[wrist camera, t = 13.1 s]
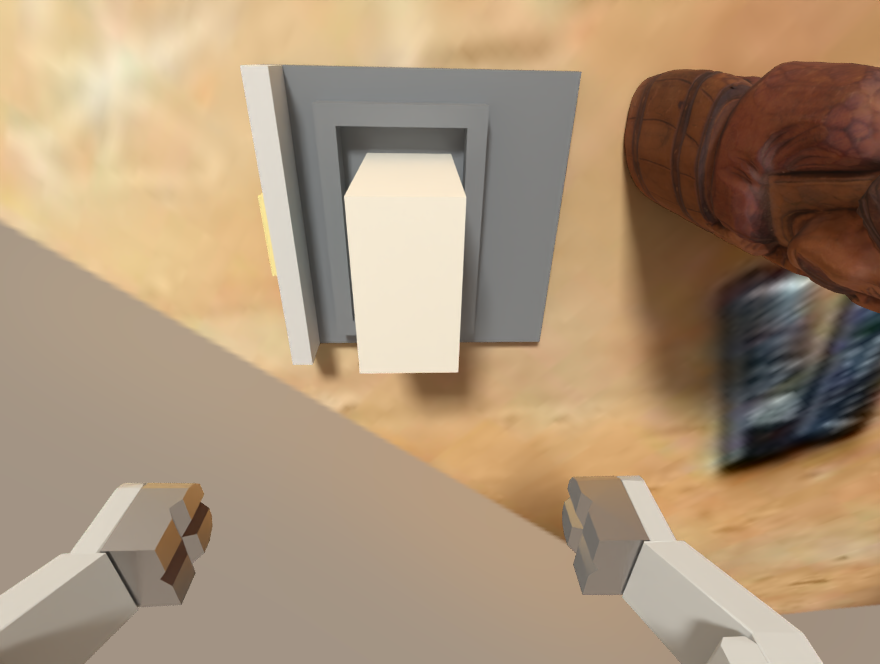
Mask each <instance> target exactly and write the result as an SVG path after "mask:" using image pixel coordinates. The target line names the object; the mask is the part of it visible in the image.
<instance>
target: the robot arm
mask: <svg viewBox="0 0 880 664" xmlns="http://www.w3.org/2000/svg"><path fill="white" fill-rule="evenodd" d="M567 489H568V492H569V495H570V498H569V499H567V500H566V501H565V502H564V506H563V511H562V522H563V530H564V535H565V538H566V542H567V545H568V546H569V547H570V548H571V549H572V550H573V551H574V552H575V553H576V556H575V560H574V564H573V565H574V568H575V572H576V575H577V578H578V581H579V585H580V587H581V591H582V594H583V595H623V596H622V597H623V599H624V600H625V601H626V602H627V603H628V604H629V605H630V606H631V607H632V609H633V610H634V611H635V612H636V613H637V614H638V615H639V617H640V618H641V619H642V620H643V621H644V622H645V623H646V624H647V626H648V627H649V628H650V629H651V630H652V631H653V632H654V633H655V634H656V636H657V637H658V638H659V639H660V640H661V641H662V642H663V644H664V645H665V646H666V647H667V648H668V649H669V650H670V651H671V652H672V654H673V655H674V656H675V657H676V658H677V659H678V660H679V662H680V663H681V664H823V662H822V661H821V659H820V658H819V656H818V655H817V653H816V652H815V650H814V649H813V647H812V646H811V644H810V643H809V641H808V640H807V638H806V637H805V635H804V634H803V633H802V632H801V631H800V630H799V629H797V628H796V627H795V626H793V625H792V624H791V623H789V622H788V621H787V620H785V619H784V618H782V616H780V615H779V614H778V613H777V612H775V611H774V610H773V609H771V608H770V607H769V606H767V605H766V604H765V603H764V602H762V601H761V600H760V599H758V598H757V597H756V596H755V595H753V594H752V593H751V592H749V591H748V590H747V589H745V588H744V587H743V586H742V585H740V584H739V583H738V582H736V581H735V580H734V579H733V578H731V577H730V576H729V575H727V574H726V573H725V572H723V571H722V570H721V569H720V568H718V567H717V566H716V565H714V564H713V563H712V562H711V561H709V560H708V559H707V558H705V557H704V556H703V555H701V554H700V553H699V552H698V551H696V550H695V549H694V548H692V547H691V546H690V545H689V544H687V543H686V542H685V541H677V540H676V538H675V537H674V535H673V533H672V531H671V529H670V527H669V526H668V524H667V522H666V520H665V518H664V516H663V514H662V513H661V511H660V509H659V507H658V505H657V503H656V502H655V500H654V498H653V496H652V494H651V492H650V491H649V489H648V487H647V485H646V483H645V481H644V479H642V478H641V477H640V476H616V477H615V476H591V477H572V478H571V479H570V481H569V484H568V488H567ZM203 496H204V493H203V490H202V488H201V486H200V484H196V483H124V484H122V485H121V486H119V487H118V488H117V489H116V490H115V491H114V492H113V494H112V495H111V497H110V498H109V499H108V501H107V502H106V503H105V505H104V506H103V508H102V509H101V511H100V512H99V513H98V515H97V516H96V517H95V519H94V520H93V522H92V523H91V524H90V526H89V527H88V529H87V530H86V531H85V533H84V534H83V536H82V537H81V538H80V540H79V541H78V542H77V544H76V545H75V547H74V548H73V549H72V551H71V552H70V553H63V554H61V555H59V556H58V557H56V558H55V559H53V560H52V561H50V562H49V563H47V564H46V565H44V566H43V567H41V568H40V569H39V570H37V571H36V572H34V573H33V574H31V575H30V576H28V577H27V578H25V579H24V580H22V581H21V582H19V583H18V584H16V585H15V586H14V587H12V588H11V589H9V590H8V591H6V592H5V593H3V594H2V595H0V664H84V663H85V662H86V661H87V660H88V659H89V658H90V657H91V656H92V655H93V654H94V653H95V652H96V651H97V650H98V649H99V648H100V647H101V646H102V645H103V644H104V643H105V642H106V641H107V640H108V639H109V638H110V637H111V636H112V635H113V634H115V633H116V632H117V630H119V628H121V626H123V625H124V624H125V623H126V622H127V620H129V619H130V618H131V617H132V615H134V614H135V613H136V612H137V611H138V607H150V606H167V605H168V606H169V605H182V602H183V600H184V598H185V595H186V593H187V591H188V589H189V586H190V584H191V582H192V580H193V578H194V575H195V570H194V567H193V562H194V561H196V560H197V559H198V558H199V557H200V556H201V555H203V554H204V553H205V550H206V548H207V545H208V543H209V541H210V536H211V531H212V515H211V512H210V509H209V508H208V507H207V506H205V505H204V504H203V503H201V500H202V498H203Z"/></svg>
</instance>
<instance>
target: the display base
mask: <svg viewBox="0 0 880 664" xmlns="http://www.w3.org/2000/svg"><path fill="white" fill-rule="evenodd" d="M240 69H241V74H242V80H243V85H244V91H245V97H246V102H247V108H248V114H249V119H250V125H251V131H252V136H253V142H254V147H255V153H256V159H257V164H258V170H259V176H260V181H261V187H262V193H261V194H260V195H259V196H258V200H259V205H260V211H261V216H262V222H263V227H264V233H265V238H266V244H267V249H268V255H269V260H270V265H271V271H272V276H277V277H278V283H279V288H280V294H281V300H282V305H283V311H284V317H285V322H286V328H287V334H288V339H289V345H290V351H291V356H292V362H293V365H313V362H314V359H315V356H316V353H317V350H318V347H319V345H320V343H357V335H356V324H355V313H354V302H353V291H352V279H351V268H350V257H349V246H348V235H347V224H346V212H345V201H344V196H345V194H346V192H347V190H348V188H349V186H350V184H351V182H352V181H353V179H354V177H355V175H356V173H357V171H358V169H359V167H360V165H361V163H362V162H363V160H364V158H365V156H366V154H367V153H427V154H451V155H452V158H453V161H454V164H455V167H456V169H457V172H458V175H459V178H460V181H461V184H462V186H463V189H464V192H465V195H466V216H465V238H464V259H463V280H462V302H461V323H460V342H539V341H540V334H541V328H542V322H543V315H544V309H545V302H546V296H547V290H548V283H549V277H550V270H551V264H552V257H553V251H554V245H555V238H556V232H557V225H558V219H559V213H560V206H561V200H562V193H563V187H564V180H565V174H566V168H567V161H568V155H569V148H570V142H571V136H572V129H573V123H574V116H575V110H576V103H577V97H578V91H579V84H580V78H581V72H577V71H536V70H491V69H447V68H402V67H357V66H312V65H268V64H260V65H240Z"/></svg>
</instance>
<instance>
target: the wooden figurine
mask: <svg viewBox="0 0 880 664" xmlns="http://www.w3.org/2000/svg"><path fill="white" fill-rule="evenodd" d="M624 141H625V149H626V158H627V165H628V168H629V171H630V174H631V177H632V179H633V181H634V183H635V184H636V186H637V187H638V188H639V189H640V190H641V191H642V193H643V194H644V195H645V196H647V197H648V198H649V199H651V200H652V201H654V202H655V203H657V204H659V205H661V206H662V207H664V208H666V209H668V210H670V211H672V212H674V213H676V214H678V215H679V216H681V217H683V218H684V219H686V220H688V221H690V222H692V223H694V224H695V225H697V226H699V227H701V228H703V229H705V230H707V231H709V232H711V233H714V234H715V235H716V236H717V237H719V238H722V239H723V240H724V241H726V242H728V243H730V244H733V245H735V246H737V247H738V248H740V249H742V250H743V251H746V252H748V253H749V254H752V255H756V256H758V255H762V256H763V257H765V258H766V259H768V260H770V261H771V262H773V263H775V264H777V265H778V266H780V267H783V268H785V269H787V270H789V271H791V272H794V273H796V274H799V275H803V276H806V277H809V278H810V280H811V281H813V282H815V283H816V284H818V285H820V286H822V287H824V288H826V289H828V290H831V291H833V292H836V293H840V294H845V295H846V296H847V297H848V298H849V299H850V300H851V301H852V302H854V303H855V304H857V305H859V306H861V307H864V308H867V309H869V310H872V311H875V312H878V313H880V68H879V67H873V66H868V65H861V64H854V63H825V62H799V61H792V62H787V63H782V64H780V65H778V66H776V67H774V68H773V69H772V70H771V71H769V72H768V73H767V74H765V75H764V76H763V77H762V78H760V77H755V76H751V77H741V76H734V75H732V74H727V73H723V72H719V71H715V72H714V71H712V70H690V69H683V70H672V71H668V72H665V73H662V74H659V75H656V76H652V77H649V78H647V79H646V80H645V81H643V82H642V83H641V84H640V86H639V87H638V88H637V90H636V92H635V93H634V95H633V97H632V101H631V104H630V108H629V114H628V120H627V126H626V132H625V137H624Z"/></svg>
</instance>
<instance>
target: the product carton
mask: <svg viewBox="0 0 880 664" xmlns="http://www.w3.org/2000/svg"><path fill="white" fill-rule="evenodd" d="M344 201H345V212H346V224H347V235H348V246H349V257H350V268H351V279H352V291H353V302H354V313H355V324H356V335H357V346H358V357H359V369H360V373H447V372H458V366H459V344H460V323H461V302H462V280H463V259H464V238H465V216H466V195H465V192H464V189H463V186H462V184H461V181H460V178H459V175H458V172H457V169H456V167H455V164H454V161H453V158H452V155H451V154H427V153H367V154H366V156H365V158H364V160H363V162H362V163H361V165H360V167H359V169H358V171H357V173H356V175H355V177H354V179H353V181H352V182H351V184H350V186H349V188H348V190H347V192H346V194H345V196H344Z"/></svg>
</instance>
